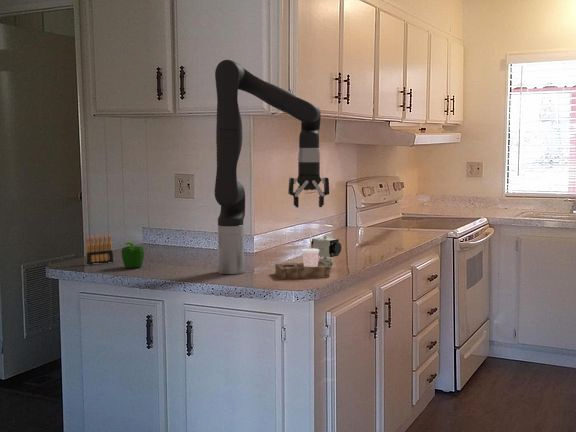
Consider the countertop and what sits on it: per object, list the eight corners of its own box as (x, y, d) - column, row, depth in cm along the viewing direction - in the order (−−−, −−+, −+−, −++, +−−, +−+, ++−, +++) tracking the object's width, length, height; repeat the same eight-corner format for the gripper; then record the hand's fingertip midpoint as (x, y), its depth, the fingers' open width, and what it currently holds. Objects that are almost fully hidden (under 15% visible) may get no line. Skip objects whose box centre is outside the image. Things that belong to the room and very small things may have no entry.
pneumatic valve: (316, 265, 267) (316, 234, 266) (341, 268, 260) (341, 236, 259) (307, 267, 263) (307, 235, 262) (333, 270, 256) (333, 238, 254)
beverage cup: (302, 276, 245) (302, 236, 243) (301, 273, 251) (301, 234, 250) (319, 276, 245) (319, 236, 244) (318, 273, 251) (318, 234, 250)
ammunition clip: (87, 265, 272) (85, 235, 270) (85, 265, 273) (84, 234, 272) (113, 262, 278) (112, 232, 276) (111, 262, 279) (110, 232, 278)
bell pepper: (142, 265, 272) (141, 239, 271) (146, 268, 264) (145, 242, 263) (120, 266, 269) (119, 240, 268) (123, 270, 261) (122, 243, 260)
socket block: (281, 279, 240) (281, 269, 240) (275, 273, 251) (275, 263, 251) (329, 276, 244) (329, 266, 243) (321, 271, 254) (321, 261, 254)
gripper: (291, 161, 239) (291, 208, 241) (331, 161, 242) (331, 207, 244) (286, 160, 247) (286, 206, 248) (326, 160, 250) (325, 206, 251)
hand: (308, 207), depth 246 cm, fingers open, 8 cm apart
